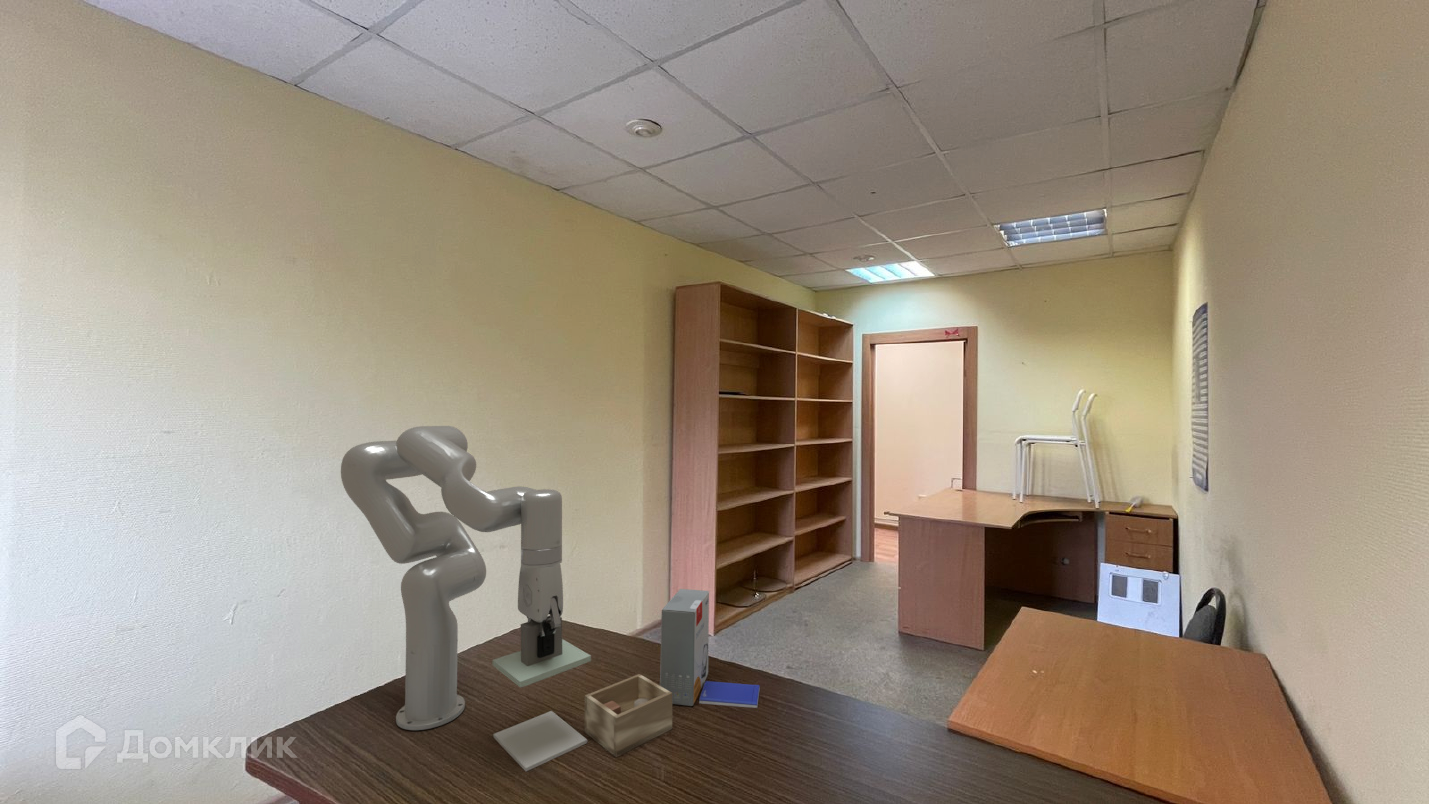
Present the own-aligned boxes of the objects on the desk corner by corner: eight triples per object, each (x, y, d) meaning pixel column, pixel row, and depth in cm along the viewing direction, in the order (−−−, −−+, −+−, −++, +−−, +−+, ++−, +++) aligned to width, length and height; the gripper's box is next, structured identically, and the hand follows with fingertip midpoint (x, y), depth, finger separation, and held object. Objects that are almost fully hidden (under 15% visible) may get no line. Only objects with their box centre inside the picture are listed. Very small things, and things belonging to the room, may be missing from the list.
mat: (493, 737, 105) (493, 734, 105) (551, 713, 113) (551, 710, 113) (525, 771, 95) (525, 768, 95) (587, 743, 103) (587, 739, 103)
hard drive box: (693, 708, 115) (694, 612, 116) (659, 704, 117) (659, 609, 117) (709, 673, 131) (709, 589, 131) (678, 670, 132) (678, 587, 133)
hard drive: (699, 698, 117) (757, 703, 115) (705, 680, 125) (759, 684, 123) (699, 705, 117) (757, 710, 115) (705, 687, 125) (759, 691, 123)
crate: (584, 732, 106) (584, 695, 107) (639, 707, 115) (639, 673, 116) (616, 757, 99) (616, 718, 99) (672, 729, 108) (672, 692, 108)
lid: (492, 670, 104) (492, 622, 104) (560, 647, 113) (559, 603, 113) (520, 693, 95) (519, 641, 95) (591, 666, 105) (590, 618, 105)
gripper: (504, 551, 108) (504, 645, 107) (543, 567, 96) (542, 673, 96) (540, 545, 113) (540, 635, 113) (581, 559, 101) (581, 660, 101)
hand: (541, 651), depth 104 cm, fingers closed on lid, 2 cm apart
